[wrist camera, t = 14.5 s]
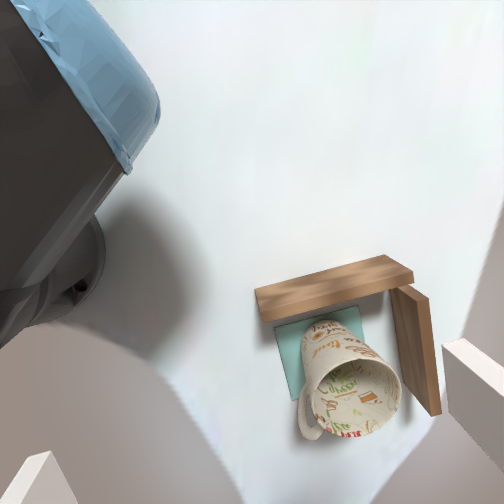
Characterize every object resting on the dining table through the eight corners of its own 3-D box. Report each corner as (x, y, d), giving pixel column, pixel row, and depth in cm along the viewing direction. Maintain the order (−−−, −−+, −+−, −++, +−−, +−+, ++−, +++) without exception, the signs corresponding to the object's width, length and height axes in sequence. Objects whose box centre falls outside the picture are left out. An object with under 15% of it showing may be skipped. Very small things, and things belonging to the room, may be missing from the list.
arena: (287, 414, 44) (297, 453, 38) (254, 289, 39) (260, 312, 33) (412, 380, 44) (441, 413, 38) (394, 251, 39) (424, 268, 33)
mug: (372, 324, 41) (419, 375, 31) (324, 410, 44) (353, 482, 34) (309, 299, 39) (338, 345, 30) (263, 390, 42) (276, 459, 32)
